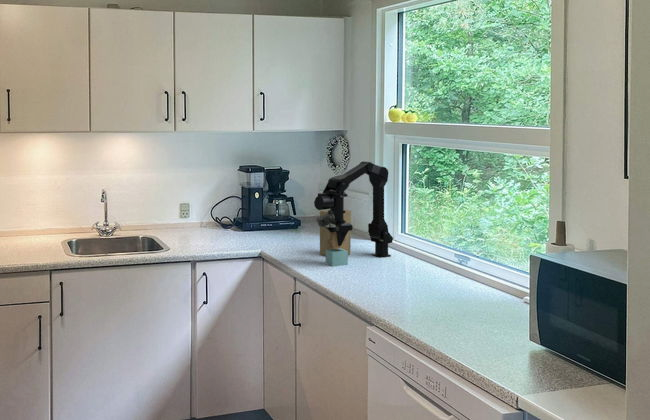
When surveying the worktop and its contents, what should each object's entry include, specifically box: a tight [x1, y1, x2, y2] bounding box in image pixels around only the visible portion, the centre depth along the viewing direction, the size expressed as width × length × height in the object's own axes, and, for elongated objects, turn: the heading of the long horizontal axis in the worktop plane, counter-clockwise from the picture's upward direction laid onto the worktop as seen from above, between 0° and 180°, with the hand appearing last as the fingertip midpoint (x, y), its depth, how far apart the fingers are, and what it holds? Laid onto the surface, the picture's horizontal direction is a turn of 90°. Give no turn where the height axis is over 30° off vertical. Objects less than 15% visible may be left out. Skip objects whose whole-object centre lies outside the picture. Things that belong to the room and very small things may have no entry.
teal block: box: [325, 248, 349, 267], centre depth 340 cm, size 7×7×6 cm
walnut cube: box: [328, 232, 346, 249], centre depth 339 cm, size 6×6×6 cm
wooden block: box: [319, 209, 352, 257], centre depth 360 cm, size 10×10×20 cm
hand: (336, 244), depth 339 cm, fingers closed on walnut cube, 5 cm apart
